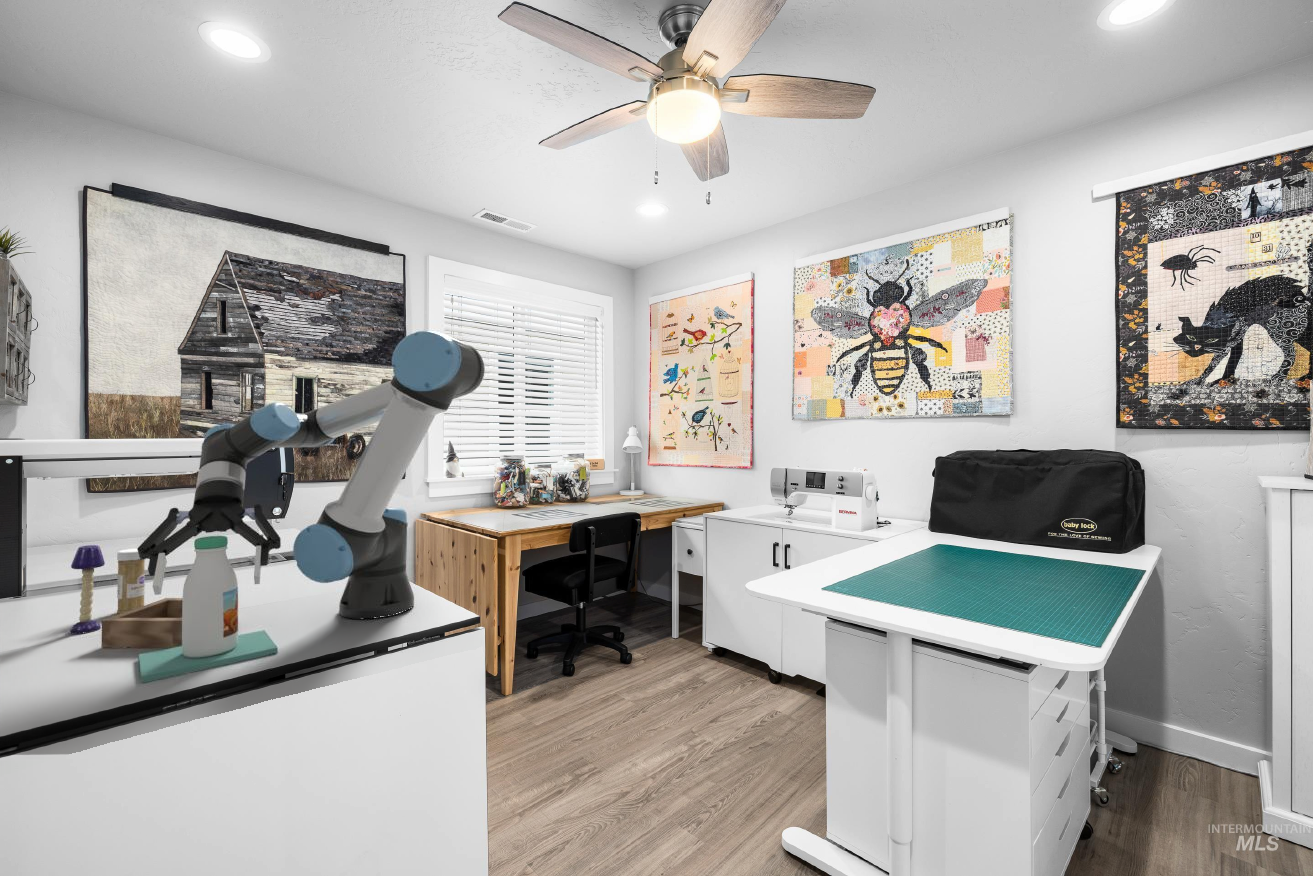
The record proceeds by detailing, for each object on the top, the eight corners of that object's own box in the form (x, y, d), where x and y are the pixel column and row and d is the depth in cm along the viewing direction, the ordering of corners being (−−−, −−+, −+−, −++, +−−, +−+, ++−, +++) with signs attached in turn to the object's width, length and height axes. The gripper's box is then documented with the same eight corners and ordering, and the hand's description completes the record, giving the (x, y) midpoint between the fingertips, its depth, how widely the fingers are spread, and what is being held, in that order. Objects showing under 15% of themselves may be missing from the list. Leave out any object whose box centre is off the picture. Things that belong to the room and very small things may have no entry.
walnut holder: (235, 622, 116) (235, 598, 116) (181, 647, 102) (181, 620, 102) (165, 622, 115) (166, 598, 115) (101, 647, 101) (101, 620, 101)
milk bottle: (207, 660, 94) (207, 542, 94) (170, 657, 96) (170, 540, 95) (248, 644, 102) (249, 534, 101) (213, 640, 103) (214, 532, 103)
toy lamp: (107, 625, 113) (108, 543, 113) (98, 632, 109) (99, 547, 109) (75, 628, 111) (76, 545, 111) (64, 636, 107) (65, 549, 107)
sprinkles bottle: (140, 613, 121) (140, 551, 121) (112, 615, 119) (113, 552, 119) (148, 607, 125) (149, 547, 125) (122, 609, 123) (122, 548, 123)
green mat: (264, 635, 109) (264, 630, 109) (277, 653, 100) (277, 647, 100) (138, 660, 96) (138, 654, 96) (141, 682, 88) (141, 676, 88)
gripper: (296, 499, 118) (294, 587, 105) (138, 505, 105) (114, 607, 92) (296, 476, 113) (294, 564, 101) (131, 479, 100) (105, 582, 87)
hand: (208, 585), depth 96 cm, fingers open, 13 cm apart
